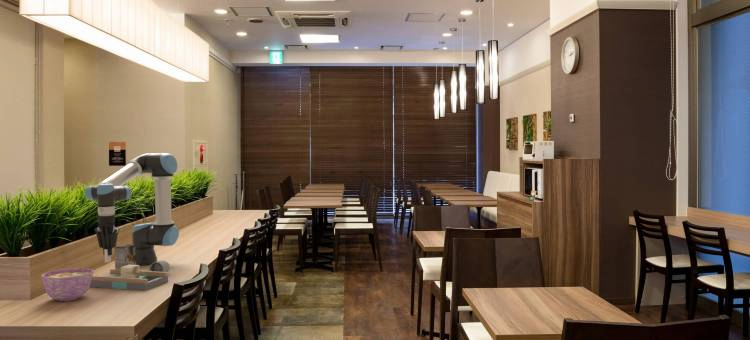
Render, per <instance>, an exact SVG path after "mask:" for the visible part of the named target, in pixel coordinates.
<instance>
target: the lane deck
mask: <svg viewBox="0 0 750 340" xmlns="http://www.w3.org/2000/svg"><path fill="white" fill-rule="evenodd" d="M168 282H169V275H168V272H156V271H150V270H140V277H139V278H124V277H121V269H115V268H111V269H109V273H107V274H103V275H92V279H91V283H90V287H89V288H100V289H115V290H117V289H118V290H131V291H147V290H150V289H153V288H156V287H159V286H161V285H163V284H165V283H168Z"/></svg>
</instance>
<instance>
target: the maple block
mask: <svg viewBox="0 0 750 340" xmlns="http://www.w3.org/2000/svg"><path fill="white" fill-rule="evenodd" d="M140 266H141V265H126V266H123V267H121V277H124V278H139V277H140V271H141V270H140V269H141V267H140Z"/></svg>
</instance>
